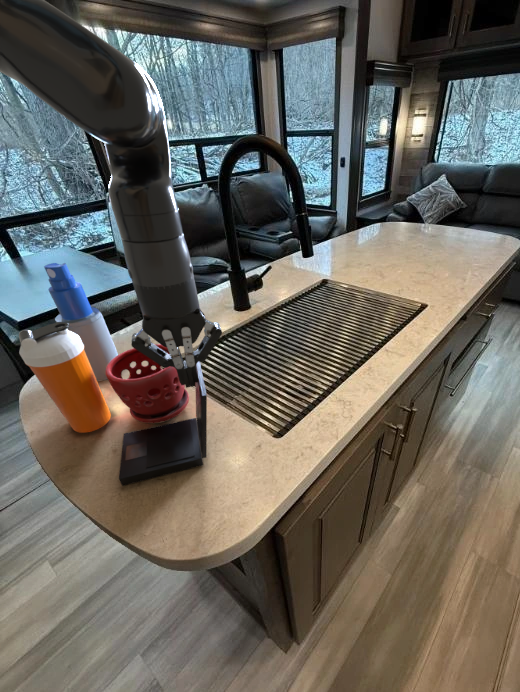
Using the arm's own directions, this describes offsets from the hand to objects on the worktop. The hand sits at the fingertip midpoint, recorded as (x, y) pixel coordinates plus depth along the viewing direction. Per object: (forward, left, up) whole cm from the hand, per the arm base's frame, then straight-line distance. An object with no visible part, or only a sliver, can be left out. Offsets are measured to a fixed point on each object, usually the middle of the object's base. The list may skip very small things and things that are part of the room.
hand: (190, 384), depth 53 cm
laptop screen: (0, 0, -5) cm, 5 cm away
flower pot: (-8, +13, -14) cm, 20 cm away
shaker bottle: (-21, +14, -13) cm, 28 cm away
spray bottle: (-21, +33, -13) cm, 41 cm away
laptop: (-7, 0, -13) cm, 15 cm away
